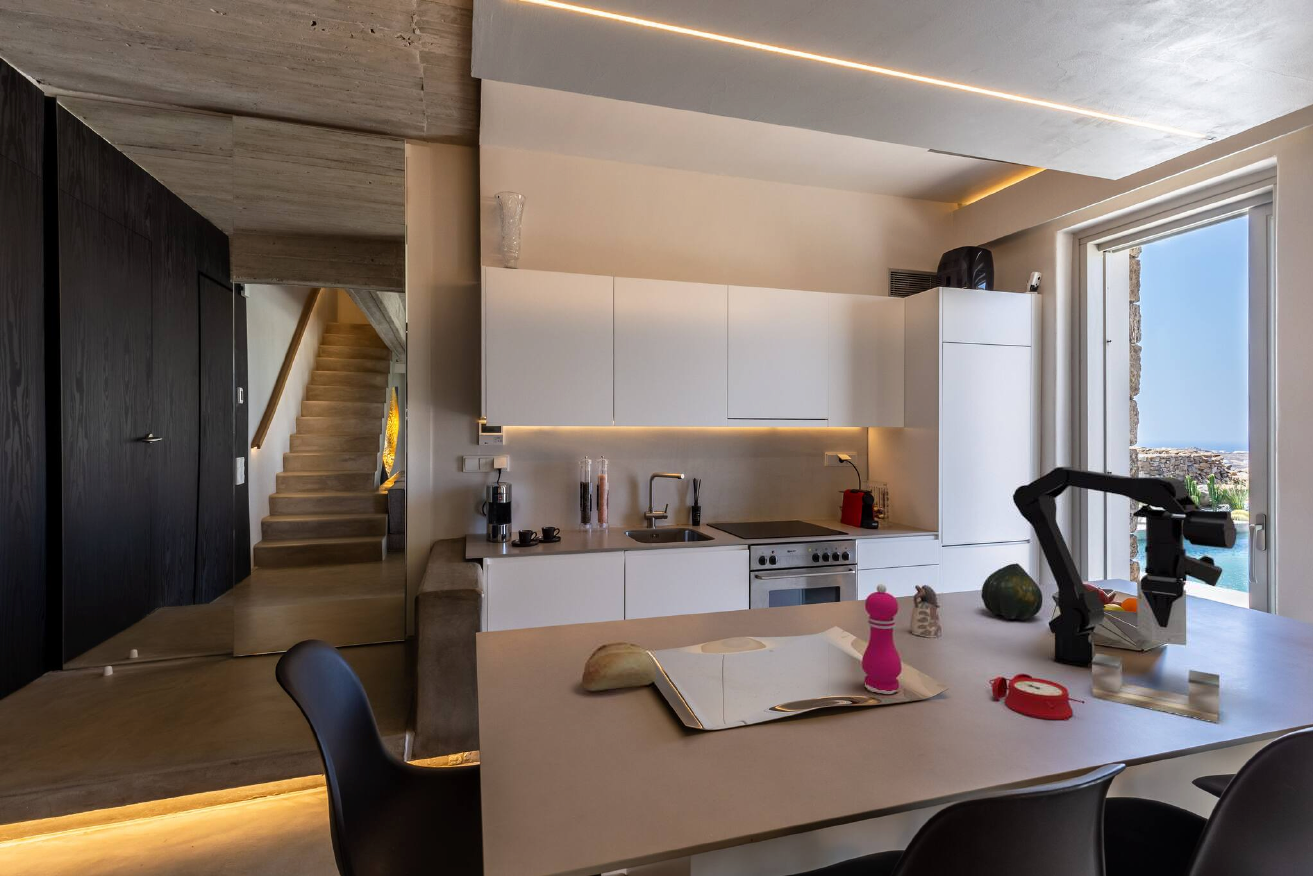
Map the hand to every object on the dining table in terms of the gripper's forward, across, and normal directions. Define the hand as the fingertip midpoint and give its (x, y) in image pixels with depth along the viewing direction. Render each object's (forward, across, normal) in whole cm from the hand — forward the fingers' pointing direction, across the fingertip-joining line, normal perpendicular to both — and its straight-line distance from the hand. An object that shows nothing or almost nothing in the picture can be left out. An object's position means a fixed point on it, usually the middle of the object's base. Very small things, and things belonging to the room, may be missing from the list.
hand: (1164, 622), depth 127 cm
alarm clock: (+13, -28, +18) cm, 35 cm away
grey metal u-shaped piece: (+12, -12, +1) cm, 17 cm away
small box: (+4, 0, +1) cm, 4 cm away
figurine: (+12, +5, +47) cm, 49 cm away
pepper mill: (+12, -38, +41) cm, 57 cm away
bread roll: (+12, -70, +80) cm, 107 cm away
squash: (+13, +37, +35) cm, 52 cm away
